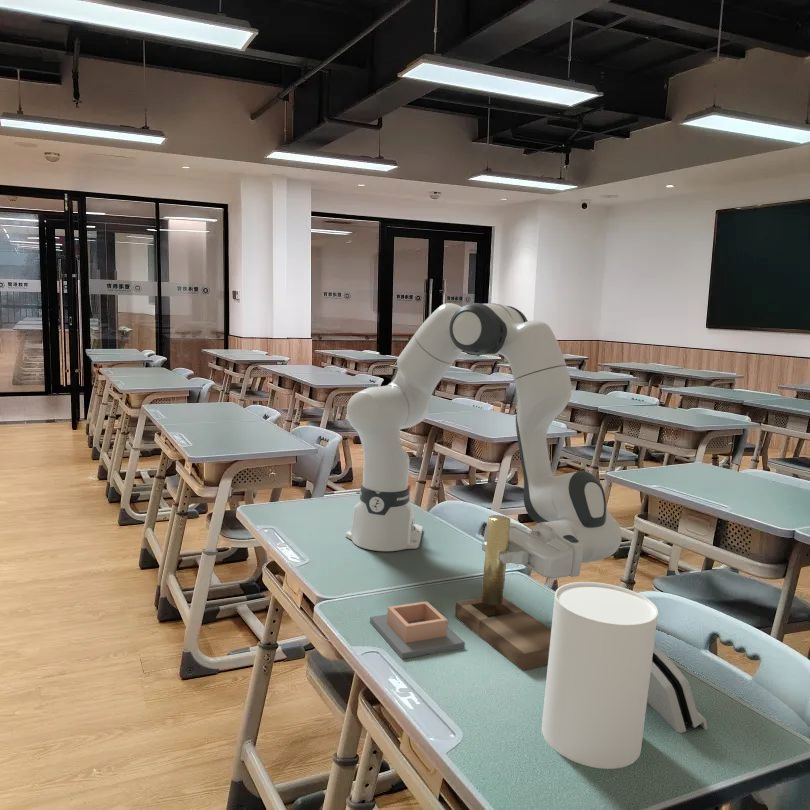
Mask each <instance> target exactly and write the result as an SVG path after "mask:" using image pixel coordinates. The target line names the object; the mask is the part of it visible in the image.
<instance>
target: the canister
mask: <svg viewBox="0 0 810 810" xmlns="http://www.w3.org/2000/svg"><path fill="white" fill-rule="evenodd" d="M658 613H659V610H658V608H657V606H656V604H655V603H654V602H653V601H651V599H649V598H647V597H646V596H644V595H642V594H640V593H638V592H636V591H633V590H631V589H628V588H625V587H623V586H622V587H621V586H619V585H614V584H609V583H603V582H597V581H596V582H593V581H577V582H576V581H575V582H570V583H567V584H562V585H561V586H559V587H558V588H557V589H556V590H555V592H554V599H553V611H552V619H551V620H552V621H551V628H550V629H551V638H550V648H549V658H548V665H547V669H546V671H547V672H546V679H545V680H546V682H545V690H544V699H543V710H542V720H541V733H542V735H543V738H544V741H546V743H547V744H548V745H549V746H550V747H551V748H552V749H553V750H554V751H555V752H557V753H558V754H559V755H561V756H562V757H564V758H565V759H568V760H569V761H571V762H575V763H577V764H579V765H581V766H582V765H583V766H586V767H590V768H594V769H604V770H606V769H607V770H612V769H613V770H615V769H621V768H625V767H628V766H629V765H632V764H634V762H637V760H638V759H639V758H640V755H641V752H642V744H643V736H644V730H645V729H644V728H645V722H646V721H645V720H646V714H647V713H646V712H647V704H648V702H647V697H648V689H649V681H650V673H651V665H652V657H653V649H654V645H655V640H656V632H657V623H658V616H659V614H658Z"/></svg>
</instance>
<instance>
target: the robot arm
mask: <svg viewBox="0 0 810 810" xmlns="http://www.w3.org/2000/svg"><path fill="white" fill-rule="evenodd" d="M462 352H465V353H466V354H470V355H473V356H475V355H476V356H477V355H478V356H479V355H480V356H481V355H482V356H494V355H495V356H496V355H501V356H502V357H504V358H505V359H506V360H507V362H508V365H509V366H510V369H511V370H510V371H511V374H512V378H513V380H514V385H515V390H516V391H515V392H516V395H517V396H516V397H517V410H516V415H515V431H516V437H517V444H518V449H519V456H520V462H521V467H522V475H523V503H524V504H523V505H524V509H525V511H526V512H527V515H528V516H529V517H530V519H531V520H532V521H534V522H535V523H536V524H535V525H534V527H533V528H532V529H528V528H526V527H525V526H522V525H521V524H518V523H515V522H510V530H509V541H508V551H504V552H503V551H502V552H500V553H499V560H500V561H501V562H503V563H504V564H506V565H507V564H515V565H516V564H517V565H523V566H525V567H527V568H529V569H530V570H532V571H534V572H535V573H537V574H538V575H540V576H542V577H543V578H544V577H545V578H547V579H560V578H566V577H570V578H571V577H572V578H573V577H574V578H575V577H579V576H580V573H581V567H582V564H586V563H591V562H596V561H601V560H603V559H606V558H609V557H611V556H613V555H614V554H615V553H616V552H617V551H618V549H619V548H620V545H621V543H622V540H623V539H622V536H623V535H622V529H621V526H620V524H619V522H618V521H617V520H616V519H615V518H614V517H613V515H611V513H610V511H609V509H608V507H607V501H606V500H607V499H606V495H605V494H606V493H605V489H604V487H603V484H602V483H601V481H600V480H599V479H598V477H596V476H595V475H594V474H593V473H591V472H589V471H587V470H579V471H575V472H574V471H573V472H568V473H565V474H564V473H563V474H561V475H555V476H554V474H553V471H552V468H551V467H552V466H551V461H550V455H549V449H548V443H547V435H548V430H549V428H550V427H551V425H552V423H553V422H554V420H555V419H556V418H557V417H558V416H559V415H560V414H561V413H562V412H563V411H564V410H565V408H566V407H567V405H569V402H570V399H571V397H572V381H571V376H570V373H569V370H568V367H567V364H566V360H565V357H564V355H563V352H562V349H561V347H560V344H559V342H558V340H557V337H556V336H555V334H554V331H553V330H552V328H551V327H550V325H548V324H547V323H546V322H543V321H539V320H528V319H527V317H526V316H525V314H524V313H523V312H522V311H521V310H519V309H518V308H516V307H514V306H510V305H504V304H499V303H496V302H494V303H492V302H490V303H480V302H479V303H478V302H474V303H469V304H466V305H464V306H461V305H459V304H457V303H452V302H451V303H450V302H447V303H443V304H441V305H439V307H437V308H436V309H435V310H434V311H433V312H432V313H431V314H430V315H429V316H428V317H427V318H426V319H425V320H424V321H423V323H422V324H421V325H420V327H418V329H417V330H416V331H415V333H414V335H413V336H412V337H411V338H410V340H409V342H408V343H407V344H406V346H405V347H404V349H403V350H402V351H401V353H400V354H399V356H398V357H397V360H396V366H397V372H396V375H395V376H394V378H393V380H392V381H391V382H389V383H388V384H387V385H382V386H371V387H367V388H365V389H362V390H360V391H358V392H356V393H354V394H353V395H352V396H351V397H350V398H349V400H348V402H347V406H346V417H347V421H348V423H349V424H350V426H351V427H352V428H353V430H355V431H356V433H357V434H358V436H359V439H360V443H361V447H362V455H363V467H362V468H363V469H362V472H363V473H362V484H360V489H359V500H360V501H359V502H358V503H356V505H354V507H353V514H352V515H353V516H352V522H351V523H352V524H351V529H349V530H347V531H346V533H345V537H346V538H348V539H349V540H352V542H353V544H354V545H356V546H358V547H359V548H362V549H366V550H370V551H376V552H395V551H397V552H398V551H402V550H407V549H408V550H412V549H414V550H415V549H418V548H419V547H420V543H421V539H422V534H423V526H422V525H421V524H420V525H419V524H417V523H415V521H416V520H415V519H416V510H415V508H414V506H413V505H412V504H411V503H410V497H411V493H410V492H411V487H412V484H411V483H409V471H410V456H409V454H408V452H407V451H406V450H405V449H403V445H402V441H401V436H400V431H401V430H405V429H409V428H413V427H414V426H417V425H418V424H420V423H421V422H422V421H424V420H425V419H426V418H427V417H428V415H429V414H430V410H431V398H432V395H433V393H434V391H435V389H436V387H437V385H439V383H440V381H442V379H443V378H444V376H445V375H446V374H447V372H448V370H450V368H451V367H452V365H453V364H455V361H456V360H457V359H458V357H459V356H460V355H461V353H462ZM487 530H488V524H486V525H485V528H484V536H483V542H482V543H481V545H482V546H481V549H482V551H483V552H486V541H487Z"/></svg>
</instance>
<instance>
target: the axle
mask: <svg viewBox="0 0 810 810" xmlns="http://www.w3.org/2000/svg"><path fill="white" fill-rule="evenodd" d="M487 521H488V522H487V525H488V530H487V541H486V552H485V551H484V552H485V554H484V565H483V575H482V576H483V577H482V584H481V585H482V586H481V595H480V596H481V600H482V602H484V603H486V604H489V605H500V604H502V602H503V598H504V590H505V580H506V578H505V577H506V570H507V563H506V564H504V563H503V562H501V561H500V560H499V553H500V552H502V551H503V552H504V551H508V541H509V530H510V523H511V518H510V517H508V516H506V515H505V516H504V515H498V514H497V515H496V514H493V515H489V516H488V520H487Z"/></svg>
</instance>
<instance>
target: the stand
mask: <svg viewBox="0 0 810 810" xmlns="http://www.w3.org/2000/svg"><path fill="white" fill-rule="evenodd" d="M386 610H387V614H382V615H381V614H380V615H376V616H375V615H374V616H370V617H369V623H370V624H371V625H372V626H373V627H374V628H375V629H376V631H377V632H378V633H379V634H380V635H381V636H382V638H383V639H384V640H385V641H386V643H388V645H389V646H390V647H391V648H392V650H394V652H395V653H396V654H397V655H398V657H400V658H401V659H402V660H403V659H409V658H415V657H419V656H425V655H431V654H436V653H437V654H438V653H442V652H449V651H453V650H459V649H464V648H465V645H466V643H465V642H466V641H464V640H463V639H462V638H461V637H459V636H458V634H456V633H455V632H454V631H453V629H451V628H450V627H449V626H448V619H447V618H446V617H445V616H444V615H443V614H442V613H440V612H439V610H437V609H436V608H435V607H434V606H433V605H432V604H430V603H429V602H428V601H420V602H414V603H406V604H399V605H392V606H387V609H386Z"/></svg>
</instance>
